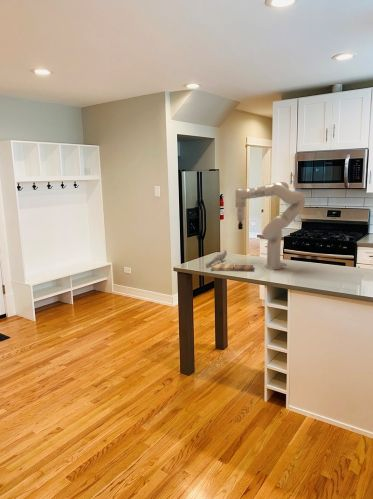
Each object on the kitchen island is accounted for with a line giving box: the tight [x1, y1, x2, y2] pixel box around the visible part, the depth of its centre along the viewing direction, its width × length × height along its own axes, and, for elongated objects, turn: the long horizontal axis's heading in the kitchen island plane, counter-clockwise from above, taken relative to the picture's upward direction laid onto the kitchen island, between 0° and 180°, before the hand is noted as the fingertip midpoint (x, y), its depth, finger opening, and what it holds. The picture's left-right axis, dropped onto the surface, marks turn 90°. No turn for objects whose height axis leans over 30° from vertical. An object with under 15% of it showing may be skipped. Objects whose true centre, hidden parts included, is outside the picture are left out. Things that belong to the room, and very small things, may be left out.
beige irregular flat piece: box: [211, 263, 235, 272], centre depth 278 cm, size 15×11×2 cm
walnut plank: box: [233, 264, 254, 272], centre depth 275 cm, size 13×11×2 cm
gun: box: [205, 249, 227, 269], centre depth 295 cm, size 2×30×8 cm, turn 145°
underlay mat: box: [210, 266, 256, 273], centre depth 277 cm, size 31×13×1 cm, turn 78°
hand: (240, 229), depth 291 cm, fingers closed
